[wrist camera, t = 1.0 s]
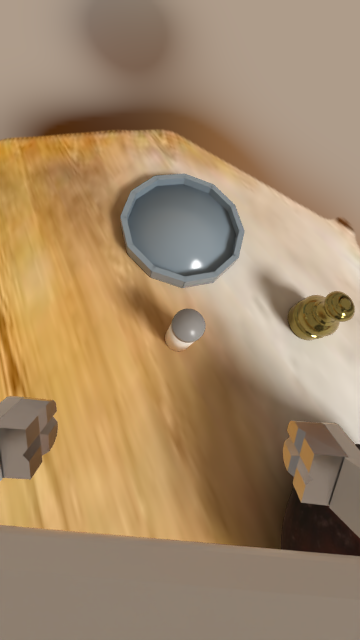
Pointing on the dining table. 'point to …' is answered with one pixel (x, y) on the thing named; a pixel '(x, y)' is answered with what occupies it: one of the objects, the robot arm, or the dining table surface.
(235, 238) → the dish
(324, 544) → the jug
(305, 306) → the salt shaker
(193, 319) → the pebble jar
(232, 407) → the dining table surface
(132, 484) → the dining table surface
